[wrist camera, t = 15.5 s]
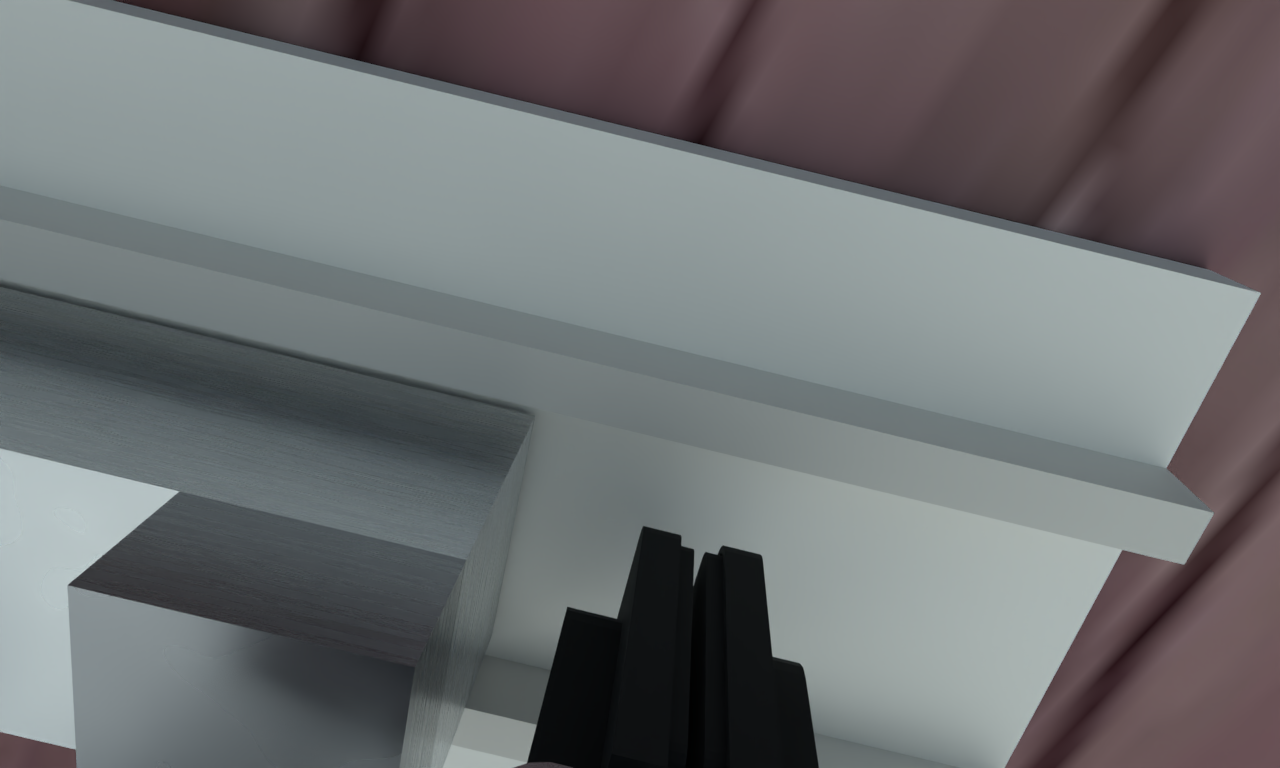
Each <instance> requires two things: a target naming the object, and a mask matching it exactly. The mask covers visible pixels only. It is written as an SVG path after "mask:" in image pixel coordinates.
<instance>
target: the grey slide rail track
mask: <svg viewBox="0 0 1280 768" xmlns="http://www.w3.org/2000/svg"><path fill="white" fill-rule="evenodd" d="M0 287H4V288H8V289H12V290H17V291H21V292H25V293H29V294H33V295H37V296H41V297H46V298H50V299H54V300H58V301H62V302H66V303H70V304H75V305H79V306H83V307H87V308H91V309H95V310H99V311H104V312H108V313H112V314H116V315H120V316H124V317H128V318H133V319H137V320H141V321H145V322H149V323H153V324H157V325H162V326H166V327H170V328H174V329H178V330H182V331H186V332H191V333H195V334H199V335H203V336H207V337H211V338H216V339H220V340H224V341H228V342H232V343H236V344H240V345H245V346H249V347H253V348H257V349H261V350H265V351H269V352H274V353H278V354H282V355H286V356H290V357H294V358H298V359H303V360H307V361H311V362H315V363H319V364H323V365H327V366H332V367H336V368H340V369H344V370H348V371H352V372H356V373H361V374H365V375H369V376H373V377H377V378H381V379H385V380H390V381H394V382H398V383H402V384H406V385H410V386H414V387H419V388H423V389H427V390H431V391H435V392H439V393H444V394H448V395H452V396H456V397H460V398H464V399H468V400H473V401H477V402H481V403H485V404H489V405H493V406H497V407H502V408H506V409H510V410H514V411H518V412H522V413H526V414H531V415H535V420H534V425H533V430H532V435H531V440H530V445H529V450H528V455H527V460H526V465H525V470H524V475H523V481H522V486H521V491H520V496H519V501H518V506H517V511H516V516H515V521H514V526H513V531H512V536H511V542H510V547H509V552H508V557H507V562H506V567H505V572H504V577H503V582H502V587H501V592H500V598H499V603H498V608H497V613H496V618H495V623H494V628H493V633H492V637H491V640H490V642H489V645H488V648H487V650H486V653H485V656H484V658H483V661H482V664H481V666H480V669H479V672H478V674H477V677H476V680H475V682H474V685H473V688H472V690H471V693H470V696H469V699H468V701H467V704H466V707H465V709H464V712H463V715H462V717H461V720H460V723H459V725H458V728H457V731H456V733H455V736H454V739H453V741H452V744H451V747H450V749H449V752H448V755H447V758H446V760H445V763H444V766H443V768H514V767H517V766H520V765H523V764H526V763H527V761H528V757H529V753H530V749H531V745H532V741H533V737H534V733H535V730H536V726H537V722H538V718H539V714H540V710H541V706H542V702H543V699H544V695H545V691H546V687H547V683H548V679H549V675H550V671H551V668H552V664H553V660H554V656H555V652H556V648H557V644H558V640H559V637H560V633H561V629H562V625H563V621H564V617H565V613H566V610H567V607H571V608H575V609H579V610H583V611H587V612H591V613H595V614H599V615H603V616H608V617H612V618H616V619H617V617H618V613H619V609H620V606H621V602H622V598H623V595H624V591H625V587H626V584H627V580H628V576H629V573H630V569H631V565H632V562H633V558H634V555H635V551H636V547H637V544H638V540H639V536H640V533H641V530H642V527H643V526H646V527H650V528H654V529H658V530H663V531H667V532H671V533H675V534H679V535H681V537H682V541H681V546H684V547H688V548H692V549H694V577H693V586H694V583H695V579H696V576H697V573H698V570H699V567H700V563H701V560H702V558H703V555H704V553H705V552H708V553H712V554H716V555H718V552H719V550H720V548H721V547H722V546H723V545H724V546H728V547H732V548H736V549H740V550H744V551H748V552H752V553H757V554H760V555H762V558H763V566H764V576H765V586H766V596H767V607H768V617H769V627H770V637H771V647H772V657H776V658H780V659H785V660H789V661H793V662H797V663H800V664H801V665H802V667H803V669H804V673H805V677H806V683H807V690H808V697H809V704H810V710H811V717H812V724H813V731H814V737H815V744H816V751H817V757H818V764H819V768H1005V766H1006V764H1007V762H1008V760H1009V759H1010V757H1011V755H1012V753H1013V751H1014V749H1015V747H1016V746H1017V744H1018V742H1019V740H1020V738H1021V736H1022V734H1023V733H1024V731H1025V729H1026V727H1027V725H1028V723H1029V722H1030V720H1031V718H1032V716H1033V714H1034V712H1035V710H1036V709H1037V707H1038V705H1039V703H1040V701H1041V699H1042V697H1043V696H1044V694H1045V692H1046V690H1047V688H1048V686H1049V685H1050V683H1051V681H1052V679H1053V677H1054V675H1055V673H1056V672H1057V670H1058V668H1059V666H1060V664H1061V662H1062V660H1063V659H1064V657H1065V655H1066V653H1067V651H1068V649H1069V648H1070V646H1071V644H1072V642H1073V640H1074V638H1075V636H1076V635H1077V633H1078V631H1079V629H1080V627H1081V625H1082V623H1083V622H1084V620H1085V618H1086V616H1087V614H1088V612H1089V611H1090V609H1091V607H1092V605H1093V603H1094V601H1095V599H1096V598H1097V596H1098V594H1099V592H1100V590H1101V588H1102V586H1103V585H1104V583H1105V581H1106V579H1107V577H1108V575H1109V573H1110V572H1111V570H1112V568H1113V566H1114V564H1115V562H1116V561H1117V559H1118V557H1119V555H1120V553H1121V551H1122V550H1125V551H1130V552H1134V553H1138V554H1142V555H1146V556H1150V557H1154V558H1159V559H1163V560H1167V561H1171V562H1175V563H1179V564H1183V565H1184V564H1185V563H1186V561H1187V559H1188V558H1189V556H1190V554H1191V552H1192V551H1193V549H1194V547H1195V545H1196V544H1197V542H1198V540H1199V539H1200V537H1201V535H1202V533H1203V532H1204V530H1205V528H1206V526H1207V525H1208V523H1209V521H1210V520H1211V518H1212V516H1213V514H1214V512H1213V511H1212V510H1211V509H1209V508H1208V507H1207V506H1206V505H1205V504H1204V503H1203V502H1202V501H1201V500H1200V499H1199V498H1198V497H1197V496H1195V495H1194V494H1193V493H1192V492H1191V491H1190V490H1189V489H1188V488H1187V487H1186V486H1185V485H1184V484H1183V483H1181V482H1180V481H1179V480H1178V479H1177V478H1176V477H1175V476H1174V475H1173V474H1172V473H1171V472H1170V471H1169V470H1168V469H1166V468H1167V466H1168V464H1169V462H1170V461H1171V459H1172V457H1173V455H1174V453H1175V451H1176V450H1177V448H1178V446H1179V444H1180V442H1181V440H1182V438H1183V437H1184V435H1185V433H1186V431H1187V429H1188V427H1189V425H1190V424H1191V422H1192V420H1193V418H1194V416H1195V414H1196V413H1197V411H1198V409H1199V407H1200V405H1201V403H1202V401H1203V400H1204V398H1205V396H1206V394H1207V392H1208V390H1209V388H1210V387H1211V385H1212V383H1213V381H1214V379H1215V377H1216V375H1217V374H1218V372H1219V370H1220V368H1221V366H1222V364H1223V363H1224V361H1225V359H1226V357H1227V355H1228V353H1229V351H1230V350H1231V348H1232V346H1233V344H1234V342H1235V340H1236V338H1237V337H1238V335H1239V333H1240V331H1241V329H1242V327H1243V326H1244V324H1245V322H1246V320H1247V318H1248V316H1249V314H1250V313H1251V311H1252V309H1253V307H1254V305H1255V303H1256V301H1257V300H1258V298H1259V296H1260V294H1261V293H1260V292H1257V291H1255V290H1253V289H1251V288H1249V287H1246V286H1244V285H1242V284H1240V283H1238V282H1235V281H1233V280H1231V279H1229V278H1226V277H1224V276H1222V275H1220V274H1218V273H1215V272H1213V271H1211V270H1208V269H1204V268H1200V267H1196V266H1192V265H1188V264H1184V263H1180V262H1176V261H1172V260H1168V259H1164V258H1159V257H1155V256H1151V255H1147V254H1143V253H1139V252H1135V251H1131V250H1127V249H1123V248H1119V247H1115V246H1111V245H1107V244H1102V243H1098V242H1094V241H1090V240H1086V239H1082V238H1078V237H1074V236H1070V235H1066V234H1062V233H1058V232H1054V231H1050V230H1045V229H1041V228H1037V227H1033V226H1029V225H1025V224H1021V223H1017V222H1013V221H1009V220H1005V219H1001V218H997V217H993V216H989V215H984V214H980V213H976V212H972V211H968V210H964V209H960V208H956V207H952V206H948V205H944V204H940V203H936V202H932V201H927V200H923V199H919V198H915V197H911V196H907V195H903V194H899V193H895V192H891V191H887V190H883V189H879V188H875V187H870V186H866V185H862V184H858V183H854V182H850V181H846V180H842V179H838V178H834V177H830V176H826V175H822V174H818V173H813V172H809V171H805V170H801V169H797V168H793V167H789V166H785V165H781V164H777V163H773V162H769V161H765V160H761V159H757V158H752V157H748V156H744V155H740V154H736V153H732V152H728V151H724V150H720V149H716V148H712V147H708V146H704V145H700V144H695V143H691V142H687V141H683V140H679V139H675V138H671V137H667V136H663V135H659V134H655V133H651V132H647V131H643V130H638V129H634V128H630V127H626V126H622V125H618V124H614V123H610V122H606V121H602V120H598V119H594V118H590V117H586V116H581V115H577V114H573V113H569V112H565V111H561V110H557V109H553V108H549V107H545V106H541V105H537V104H533V103H529V102H524V101H520V100H516V99H512V98H508V97H504V96H500V95H496V94H492V93H488V92H484V91H480V90H476V89H472V88H468V87H463V86H459V85H455V84H451V83H447V82H443V81H439V80H435V79H431V78H427V77H423V76H419V75H415V74H411V73H406V72H402V71H398V70H394V69H390V68H386V67H382V66H378V65H374V64H370V63H366V62H362V61H358V60H354V59H349V58H345V57H341V56H337V55H333V54H329V53H325V52H321V51H317V50H313V49H309V48H305V47H301V46H297V45H292V44H288V43H284V42H280V41H276V40H272V39H268V38H264V37H260V36H256V35H252V34H248V33H244V32H240V31H236V30H231V29H227V28H223V27H219V26H215V25H211V24H207V23H203V22H199V21H195V20H191V19H187V18H183V17H179V16H174V15H170V14H166V13H162V12H158V11H154V10H150V9H146V8H142V7H138V6H134V5H130V4H126V3H122V2H117V1H113V0H0Z"/></svg>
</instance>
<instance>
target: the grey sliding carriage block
mask: <svg viewBox="0 0 1280 768" xmlns="http://www.w3.org/2000/svg"><path fill="white" fill-rule="evenodd" d="M534 420H535V415H531V414H526V413H522V412H518V411H514V410H510V409H506V408H502V407H497V406H493V405H489V404H485V403H481V402H477V401H473V400H468V399H464V398H460V397H456V396H452V395H448V394H444V393H439V392H435V391H431V390H427V389H423V388H419V387H414V386H410V385H406V384H402V383H398V382H394V381H390V380H385V379H381V378H377V377H373V376H369V375H365V374H361V373H356V372H352V371H348V370H344V369H340V368H336V367H332V366H327V365H323V364H319V363H315V362H311V361H307V360H303V359H298V358H294V357H290V356H286V355H282V354H278V353H274V352H269V351H265V350H261V349H257V348H253V347H249V346H245V345H240V344H236V343H232V342H228V341H224V340H220V339H216V338H211V337H207V336H203V335H199V334H195V333H191V332H186V331H182V330H178V329H174V328H170V327H166V326H162V325H157V324H153V323H149V322H145V321H141V320H137V319H133V318H128V317H124V316H120V315H116V314H112V313H108V312H104V311H99V310H95V309H91V308H87V307H83V306H79V305H75V304H70V303H66V302H62V301H58V300H54V299H50V298H46V297H41V296H37V295H33V294H29V293H25V292H21V291H17V290H12V289H8V288H4V287H0V732H3V733H8V734H12V735H16V736H20V737H25V738H29V739H33V740H37V741H42V742H46V743H50V744H54V745H59V746H63V747H67V748H71V749H76V762H77V768H443V766H444V763H445V760H446V758H447V755H448V752H449V749H450V747H451V744H452V741H453V739H454V736H455V733H456V731H457V728H458V725H459V723H460V720H461V717H462V715H463V712H464V709H465V707H466V704H467V701H468V699H469V696H470V693H471V690H472V688H473V685H474V682H475V680H476V677H477V674H478V672H479V669H480V666H481V664H482V661H483V658H484V656H485V653H486V650H487V648H488V645H489V642H490V640H491V637H492V633H493V628H494V623H495V618H496V613H497V608H498V603H499V598H500V592H501V587H502V582H503V577H504V572H505V567H506V562H507V557H508V552H509V547H510V542H511V536H512V531H513V526H514V521H515V516H516V511H517V506H518V501H519V496H520V491H521V486H522V481H523V475H524V470H525V465H526V460H527V455H528V450H529V445H530V440H531V435H532V430H533V425H534Z"/></svg>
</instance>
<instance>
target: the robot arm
mask: <svg viewBox="0 0 1280 768" xmlns="http://www.w3.org/2000/svg"><path fill="white" fill-rule="evenodd" d="M681 541H682V537H681V535H679V534H675V533H671V532H667V531H663V530H658V529H654V528H650V527H646V526H643V527H642V530H641V533H640V536H639V540H638V544H637V547H636V551H635V555H634V558H633V562H632V565H631V569H630V573H629V576H628V580H627V584H626V587H625V591H624V595H623V598H622V602H621V606H620V609H619V613H618V617H617V619H616V618H612V617H608V616H603V615H599V614H595V613H591V612H587V611H583V610H579V609H575V608H571V607H567V610H566V613H565V617H564V621H563V625H562V629H561V633H560V637H559V640H558V644H557V648H556V652H555V656H554V660H553V664H552V668H551V671H550V675H549V679H548V683H547V687H546V691H545V695H544V699H543V702H542V706H541V710H540V714H539V718H538V722H537V726H536V730H535V733H534V737H533V741H532V745H531V749H530V753H529V757H528V761H527V763H526V764H523V765H520V766H517V767H514V768H819V764H818V757H817V751H816V744H815V737H814V731H813V724H812V717H811V710H810V704H809V697H808V690H807V683H806V677H805V673H804V669H803V667H802V665H801V664H800V663H797V662H793V661H789V660H785V659H780V658H776V657H772V647H771V637H770V627H769V617H768V607H767V596H766V586H765V576H764V566H763V558H762V555H760V554H757V553H752V552H748V551H744V550H740V549H736V548H732V547H728V546H724V545H723V546H722V547H721V548H720V550H719V552H718V555H716V554H712V553H708V552H705V553H704V555H703V558H702V560H701V563H700V567H699V570H698V573H697V576H696V579H695V583H694V586H693V577H694V549H692V548H688V547H684V546H681Z"/></svg>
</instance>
